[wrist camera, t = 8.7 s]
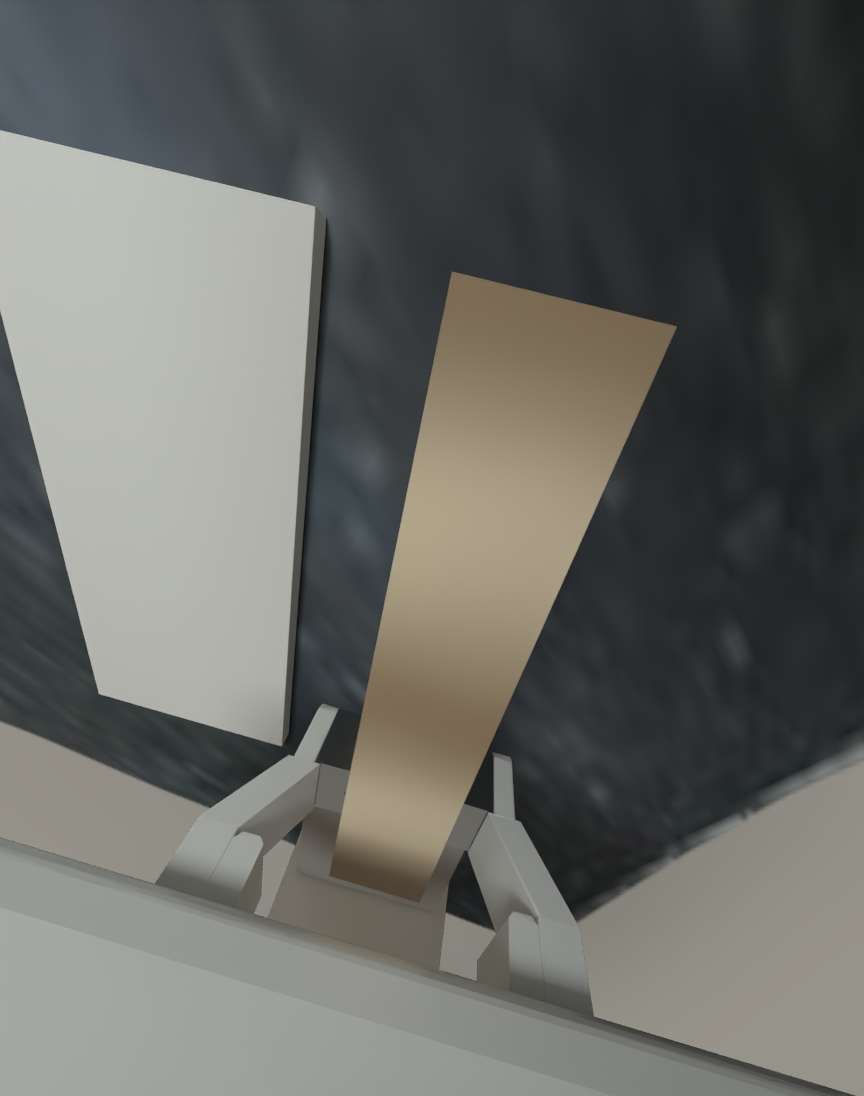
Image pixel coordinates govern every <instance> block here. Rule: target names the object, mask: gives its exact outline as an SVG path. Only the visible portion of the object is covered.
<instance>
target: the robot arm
mask: <svg viewBox="0 0 864 1096" xmlns="http://www.w3.org/2000/svg"><path fill="white" fill-rule="evenodd" d="M361 716H362V715H359V714H355V713H352V712H349V711H346V710H342V709H339V708H336V707H333V706H329V705H326V704H322V705H321V706H320V707H319V709H318V710H317V712H316V714H315V716H314V718H313V720H312V722H311V724H310V726H309V728H308V730H307V732H306V734H305V736H304V738H303V740H302V742H301V744H300V746H299V748H298V750H297V752H296V753H295V755H294V756H291V755H288V756H287V757H285V758H284V759H282V760H281V761H279V762H278V763H276V764H275V765H273V766H272V767H270V768H269V769H267V770H266V771H265V772H263V773H262V774H260V775H259V776H257V777H256V778H254V779H253V780H251V781H250V782H248V783H247V784H246V785H244V786H243V787H241V788H240V789H238V790H237V791H235V792H234V793H232V794H231V795H229V796H228V797H226V798H225V799H224V800H222V801H221V802H219V803H218V804H216V805H215V806H213V807H212V808H210V809H209V810H207V811H206V812H205V813H203V814H202V815H200V816H199V817H198V819H197V820H196V822H195V823H194V825H193V827H192V828H191V830H190V831H189V833H188V834H187V836H186V837H185V839H184V840H183V842H182V844H181V845H180V846H179V848H178V849H177V851H176V852H175V854H174V855H173V857H172V858H171V860H170V861H169V863H168V865H167V866H166V868H165V869H164V871H163V872H162V874H161V875H160V877H159V878H158V880H157V881H156V883H155V884H153V883H149V882H146V881H143V880H140V879H136V878H133V877H130V876H126V875H123V874H120V873H116V872H113V871H110V870H107V869H103V868H100V867H96V866H93V865H90V864H87V863H83V862H80V861H77V860H73V859H70V858H67V857H63V856H60V855H57V854H54V853H50V852H47V851H43V850H40V849H37V848H34V847H30V846H27V845H24V844H20V843H17V842H14V841H10V840H7V839H4V838H0V1096H854V1095H851V1094H848V1093H844V1092H841V1091H838V1090H835V1089H832V1088H828V1087H825V1086H821V1085H818V1084H815V1083H812V1082H808V1081H805V1080H801V1079H798V1078H795V1077H792V1076H788V1075H785V1074H782V1073H778V1072H775V1071H772V1070H769V1069H765V1068H762V1067H759V1066H755V1065H752V1064H749V1063H745V1062H742V1061H738V1060H735V1059H732V1058H729V1057H726V1056H722V1055H719V1054H716V1053H712V1052H709V1051H705V1050H702V1049H699V1048H696V1047H693V1046H689V1045H686V1044H683V1043H679V1042H676V1041H673V1040H669V1039H666V1038H663V1037H659V1036H656V1035H653V1034H650V1033H646V1032H643V1031H639V1030H636V1029H633V1028H630V1027H626V1026H623V1025H620V1024H616V1023H613V1022H610V1021H606V1020H603V1019H600V1018H597V1017H594V1015H593V1008H592V1002H591V995H590V989H589V983H588V977H587V970H586V964H585V957H584V951H583V945H582V938H581V932H580V928H579V926H578V925H577V923H576V921H575V919H574V917H573V916H572V914H571V912H570V910H569V908H568V906H567V905H566V903H565V901H564V899H563V897H562V896H561V894H560V892H559V890H558V888H557V887H556V885H555V883H554V881H553V879H552V878H551V876H550V874H549V872H548V870H547V869H546V867H545V865H544V863H543V861H542V859H541V858H540V856H539V854H538V852H537V850H536V849H535V847H534V845H533V843H532V841H531V840H530V838H529V836H528V834H527V832H526V831H525V829H524V827H523V825H522V823H521V822H520V821H517V820H515V808H514V790H513V773H512V760H511V758H510V757H509V756H505V755H502V754H498V753H494V752H491V751H489V750H487V753H486V755H485V757H484V759H483V762H482V764H481V766H480V768H479V771H478V773H477V775H476V777H475V779H474V782H473V784H472V786H471V788H470V791H469V793H468V795H467V797H466V800H465V802H464V804H463V806H462V809H461V811H460V813H459V815H458V817H457V820H456V822H455V824H454V826H453V829H452V831H451V833H450V835H449V838H448V840H447V842H446V844H448V845H451V846H454V847H457V848H460V849H463V850H466V851H468V855H469V858H470V861H471V864H472V867H473V870H474V872H475V875H476V878H477V881H478V884H479V887H480V889H481V892H482V895H483V898H484V901H485V904H486V906H487V909H488V912H489V915H490V918H491V921H492V923H493V926H494V929H495V932H496V935H495V937H494V938H493V940H492V941H491V942H490V944H489V945H488V947H487V948H486V949H485V951H484V952H483V953H482V955H481V956H480V958H479V959H478V962H477V981H473V980H471V979H467V978H464V977H461V976H458V975H454V974H451V973H448V972H444V971H441V970H438V969H434V968H431V967H428V966H424V965H421V964H418V963H415V962H411V961H408V960H405V959H401V958H398V957H395V956H391V955H388V954H385V953H381V952H378V951H375V950H372V949H368V948H365V947H362V946H358V945H355V944H352V943H348V942H345V941H342V940H338V939H335V938H332V937H329V936H325V935H322V934H319V933H315V932H312V931H309V930H305V929H302V928H299V927H295V926H292V925H289V924H285V923H282V922H279V921H276V920H272V919H269V918H265V917H262V916H259V915H256V914H254V912H255V909H256V907H257V904H258V902H259V899H260V897H261V888H262V866H263V856H264V855H265V854H266V853H267V852H268V851H269V850H270V849H272V847H273V846H274V845H276V844H277V843H278V842H279V841H280V840H281V839H282V838H283V837H284V836H285V835H286V834H287V833H288V832H289V831H291V830H292V829H293V828H294V827H295V826H296V825H297V824H298V823H299V822H300V821H301V820H302V819H303V818H304V817H305V816H306V815H307V814H309V813H310V812H311V811H312V810H313V809H314V806H315V807H319V808H323V809H327V810H331V811H334V812H338V813H342V810H343V805H344V800H345V795H346V790H347V785H348V780H349V775H350V770H351V765H352V761H353V756H354V751H355V746H356V741H357V736H358V731H359V726H360V721H361Z"/></svg>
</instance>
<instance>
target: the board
mask: <svg viewBox="0 0 864 1096" xmlns="http://www.w3.org/2000/svg"><path fill="white" fill-rule="evenodd" d="M325 230H326V216H325V215H324V214H323V213H322V212H321V211H320V210H319V209H317V208H316V207H315V206H311V205H307V204H303V203H299V202H294V201H290V200H286V199H282V198H278V197H274V196H270V195H265V194H261V193H257V192H253V191H249V190H245V189H241V188H237V187H232V186H228V185H224V184H220V183H216V182H212V181H208V180H203V179H199V178H195V177H191V176H187V175H183V174H179V173H175V172H170V171H166V170H162V169H158V168H154V167H150V166H146V165H141V164H137V163H133V162H129V161H125V160H121V159H117V158H113V157H108V156H104V155H100V154H96V153H92V152H88V151H84V150H79V149H75V148H71V147H67V146H63V145H59V144H55V143H51V142H46V141H42V140H38V139H34V138H30V137H26V136H22V135H17V134H13V133H9V132H5V131H1V130H0V311H1V315H2V319H3V323H4V327H5V330H6V334H7V338H8V342H9V346H10V350H11V354H12V358H13V362H14V365H15V369H16V373H17V377H18V381H19V385H20V389H21V393H22V397H23V400H24V404H25V408H26V412H27V416H28V420H29V424H30V428H31V431H32V435H33V439H34V443H35V447H36V451H37V455H38V459H39V463H40V466H41V470H42V474H43V478H44V482H45V486H46V490H47V494H48V498H49V501H50V505H51V509H52V513H53V517H54V521H55V525H56V529H57V532H58V536H59V540H60V544H61V548H62V552H63V556H64V560H65V564H66V567H67V571H68V575H69V579H70V583H71V587H72V591H73V595H74V599H75V602H76V606H77V610H78V614H79V618H80V622H81V626H82V630H83V634H84V637H85V641H86V645H87V649H88V653H89V657H90V661H91V665H92V668H93V672H94V676H95V680H96V684H97V688H98V692H99V694H101V695H105V696H108V697H112V698H115V699H119V700H122V701H126V702H129V703H133V704H136V705H139V706H143V707H146V708H150V709H153V710H157V711H160V712H164V713H167V714H171V715H174V716H178V717H181V718H185V719H188V720H192V721H195V722H199V723H202V724H206V725H209V726H213V727H216V728H220V729H223V730H227V731H230V732H234V733H237V734H241V735H244V736H247V737H251V738H254V739H258V740H261V741H265V742H268V743H272V744H275V745H279V746H282V745H283V743H284V742H285V740H286V738H287V736H288V734H289V722H290V708H291V695H292V681H293V667H294V654H295V640H296V626H297V613H298V599H299V585H300V572H301V558H302V544H303V531H304V517H305V503H306V490H307V476H308V462H309V449H310V435H311V421H312V408H313V394H314V380H315V367H316V353H317V339H318V326H319V312H320V298H321V285H322V271H323V257H324V244H325Z"/></svg>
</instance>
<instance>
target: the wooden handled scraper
mask: <svg viewBox="0 0 864 1096" xmlns="http://www.w3.org/2000/svg"><path fill="white" fill-rule="evenodd" d="M676 328H677V326H673V325H668V324H664V323H660V322H656V321H652V320H648V319H644V318H640V317H636V316H632V315H628V314H623V313H619V312H615V311H611V310H607V309H603V308H599V307H595V306H591V305H587V304H583V303H579V302H574V301H570V300H566V299H562V298H558V297H554V296H550V295H546V294H542V293H538V292H534V291H529V290H525V289H521V288H517V287H513V286H509V285H505V284H501V283H497V282H493V281H489V280H484V279H480V278H476V277H472V276H468V275H464V274H460V273H456V272H452V274H451V279H450V284H449V289H448V294H447V299H446V304H445V309H444V313H443V318H442V323H441V328H440V333H439V338H438V343H437V348H436V353H435V358H434V363H433V367H432V372H431V377H430V382H429V387H428V392H427V397H426V402H425V407H424V412H423V417H422V422H421V426H420V431H419V436H418V441H417V446H416V451H415V456H414V461H413V466H412V471H411V476H410V480H409V485H408V490H407V495H406V500H405V505H404V510H403V515H402V520H401V525H400V530H399V535H398V539H397V544H396V549H395V554H394V559H393V564H392V569H391V574H390V579H389V584H388V589H387V593H386V598H385V603H384V608H383V613H382V618H381V623H380V628H379V633H378V638H377V643H376V648H375V652H374V657H373V662H372V667H371V672H370V677H369V682H368V687H367V692H366V697H365V702H364V707H363V711H362V716H361V721H360V726H359V731H358V736H357V741H356V746H355V751H354V756H353V761H352V765H351V770H350V775H349V780H348V785H347V790H346V795H345V800H344V805H343V810H342V813H338V812H334V811H331V810H327V809H323V808H319V807H315V806H314V809H313V810H312V811H311V812H310V813H309V814H307V815H306V816H305V817H304V818H303V824H302V832H301V840H300V848H299V856H298V864H297V872H300V873H303V874H306V875H310V876H313V877H316V878H320V879H323V880H327V881H330V882H333V883H337V884H340V885H343V886H347V887H350V888H353V889H357V890H360V891H364V892H367V893H370V894H374V895H377V896H380V897H384V898H387V899H390V900H394V901H397V902H401V903H404V904H407V905H411V906H414V907H417V908H421V909H424V910H427V911H431V912H434V911H435V909H436V907H437V905H438V903H439V901H440V899H441V897H442V895H443V893H444V891H445V889H446V887H447V885H448V883H449V881H450V879H451V877H452V875H453V873H454V871H455V869H456V867H457V865H458V863H459V861H460V859H461V857H462V855H463V853H464V851H465V850H463V849H460V848H457V847H454V846H451V845H448V844H446V842H447V840H448V838H449V835H450V833H451V831H452V829H453V826H454V824H455V822H456V820H457V817H458V815H459V813H460V811H461V809H462V806H463V804H464V802H465V800H466V797H467V795H468V793H469V791H470V788H471V786H472V784H473V782H474V779H475V777H476V775H477V773H478V771H479V768H480V766H481V764H482V762H483V759H484V757H485V755H486V753H487V750H488V748H489V746H490V744H491V741H492V739H493V737H494V735H495V733H496V730H497V728H498V726H499V724H500V721H501V719H502V717H503V715H504V712H505V710H506V708H507V706H508V703H509V701H510V699H511V697H512V694H513V692H514V690H515V688H516V686H517V683H518V681H519V679H520V677H521V674H522V672H523V670H524V668H525V665H526V663H527V661H528V659H529V656H530V654H531V652H532V650H533V648H534V645H535V643H536V641H537V639H538V636H539V634H540V632H541V630H542V627H543V625H544V623H545V621H546V618H547V616H548V614H549V612H550V610H551V607H552V605H553V603H554V601H555V598H556V596H557V594H558V592H559V589H560V587H561V585H562V583H563V580H564V578H565V576H566V574H567V571H568V569H569V567H570V565H571V563H572V560H573V558H574V556H575V554H576V551H577V549H578V547H579V545H580V542H581V540H582V538H583V536H584V533H585V531H586V529H587V527H588V525H589V522H590V520H591V518H592V516H593V513H594V511H595V509H596V507H597V504H598V502H599V500H600V498H601V495H602V493H603V491H604V489H605V486H606V484H607V482H608V480H609V478H610V475H611V473H612V471H613V469H614V466H615V464H616V462H617V460H618V457H619V455H620V453H621V451H622V448H623V446H624V444H625V442H626V440H627V437H628V435H629V433H630V431H631V428H632V426H633V424H634V422H635V419H636V417H637V415H638V413H639V410H640V408H641V406H642V404H643V402H644V399H645V397H646V395H647V393H648V390H649V388H650V386H651V384H652V381H653V379H654V377H655V375H656V372H657V370H658V368H659V366H660V363H661V361H662V359H663V357H664V355H665V352H666V350H667V348H668V346H669V343H670V341H671V339H672V337H673V334H674V332H675V330H676Z"/></svg>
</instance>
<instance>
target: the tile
mask: <svg viewBox="0 0 864 1096" xmlns="http://www.w3.org/2000/svg"><path fill="white" fill-rule="evenodd" d="M301 832H302V830H301ZM300 840H301V833H300V835H299V838H298V840H297V843H296V846H295V848H294V851H293V854H292V856H291V858H290V861H289V864H288V866H287V869H286V872H285V874H284V877H283V879H282V882H281V885H280V887H279V890H278V892H277V895H276V897H275V900H274V903H273V905H272V908H271V910H270V913H269V915H268V918H269V919H272V920H276V921H279V922H282V923H285V924H289V925H292V926H295V927H299V928H302V929H305V930H309V931H312V932H315V933H319V934H322V935H325V936H329V937H332V938H335V939H338V940H342V941H345V942H348V943H352V944H355V945H358V946H362V947H365V948H368V949H372V950H375V951H378V952H381V953H385V954H388V955H391V956H395V957H398V958H401V959H405V960H408V961H411V962H415V963H418V964H421V965H424V966H428V967H431V968H434V969H438V970H439V965H440V956H441V948H442V938H443V930H444V920H445V913H446V904H447V895H448V886H449V883H448V885H447V887H446V889H445V891H444V893H443V895H442V897H441V899H440V901H439V903H438V905H437V907H436V909H435V911H434V912H431V911H427V910H424V909H421V908H417V907H414V906H411V905H407V904H404V903H401V902H397V901H394V900H390V899H387V898H384V897H380V896H377V895H374V894H370V893H367V892H364V891H360V890H357V889H353V888H350V887H347V886H343V885H340V884H337V883H333V882H330V881H327V880H323V879H320V878H316V877H313V876H310V875H306V874H303V873H300V872H297V864H298V856H299V848H300Z"/></svg>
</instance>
